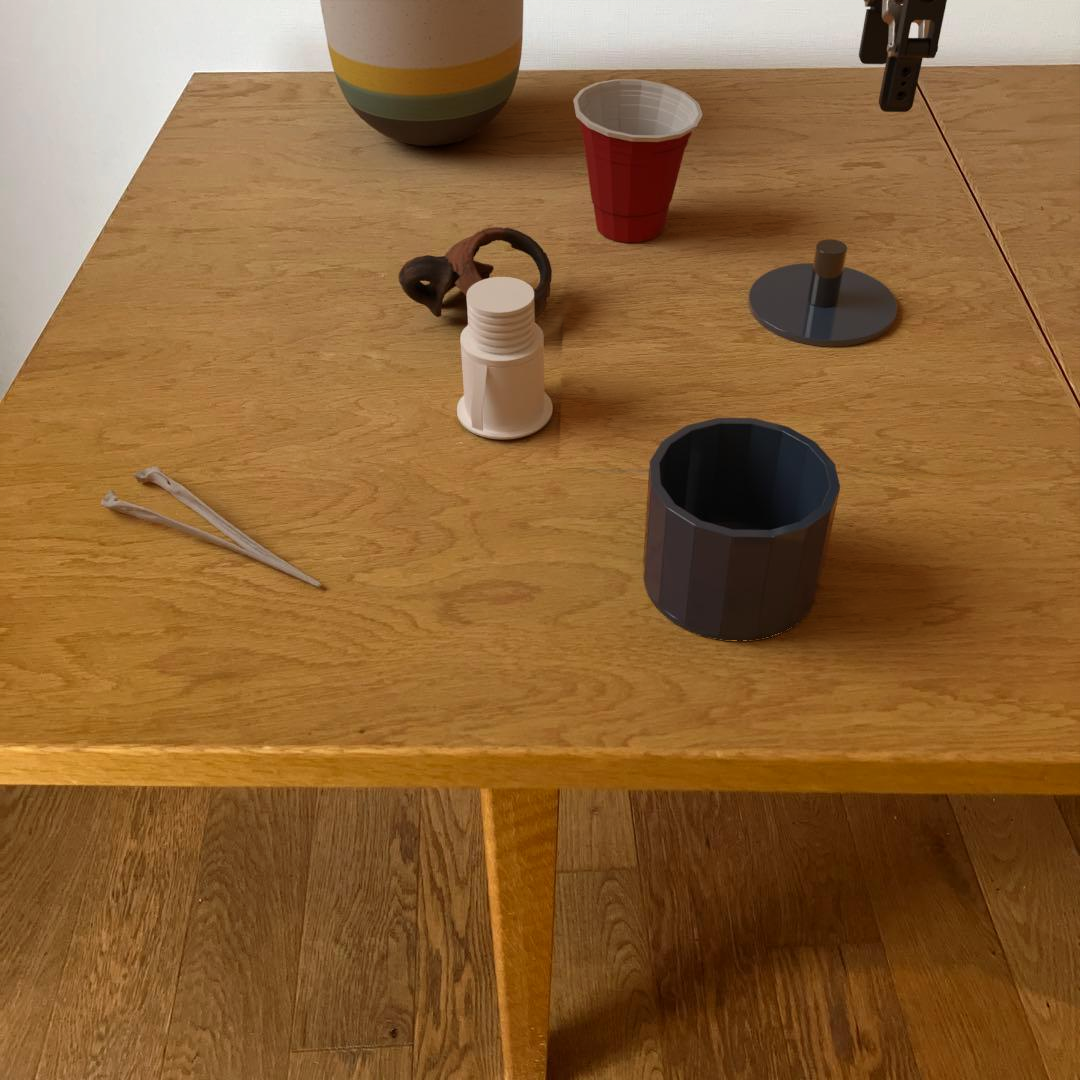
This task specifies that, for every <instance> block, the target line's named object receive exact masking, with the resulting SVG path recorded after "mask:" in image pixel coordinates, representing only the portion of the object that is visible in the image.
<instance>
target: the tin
mask: <svg viewBox="0 0 1080 1080" xmlns="http://www.w3.org/2000/svg"><path fill="white" fill-rule="evenodd" d="M648 468H649V469H648V481H647V497H646V512H645V513H646V514H645V526H644V530H645V531H644V541H643V542H644V543H643V555H642V556H643V557H642V560H643V561H642V565H643V575H642V577H643V583H644V587H645V591H646V593H647V595H648V597H649V599H650V601H651V602H652V603H653V605H654V607H656V609H657V610H658V611H659V612H660V613H661V614H662V615H663V616H664V617H665V618H666V619H668V620H669V621H671V622H672V623H673V622H674V624H675V625H676V626H678V625H679V626H678V627H680V628H682V627H683V628H682V629H684V628H685V629H684V630H685V631H688V630H689V631H688V632H690V633H692V632H694V633H693V634H695V633H696V634H695V635H698V634H700V635H702V636H701V637H704V636H705V637H704V638H707V637H711V638H716V639H722V640H737V641H743V640H747V641H746V642H750V641H749V640H756V639H762V638H766V637H770V638H772V637H771V636H772V635H773V637H775V636H774V635H775V634H778V633H781V632H784V631H785V632H787V631H788V630H787V629H789V628H791V627H793V626H794V627H796V625H795V624H797V623H798V624H800V622H802V621H803V620H804V619H805V618H806V617H807V615H809V613H810V612H811V610H812V608H813V606H814V605H815V602H816V599H817V595H818V592H819V590H820V589H819V588H820V586H821V582H822V577H823V573H824V567H825V562H826V559H827V553H828V549H829V544H830V539H831V534H832V529H833V524H834V521H835V520H834V519H835V514H836V510H837V505H838V501H839V500H838V499H839V497H840V496H839V495H840V491H841V485H840V479H839V476H838V472H837V467H836V463H835V462H834V461H833V460H832V459H831V457H830V456H829V455H828V454H827V453H826V452H825V450H823V448H822V447H821V446H820V445H819V443H817V442H816V441H815V440H813V439H811V438H810V437H807V436H806V435H804V434H802V433H800V432H798V431H796V429H793V428H791V427H789V426H787V425H783V424H779V423H775V422H770V421H766V420H763V419H759V418H754V417H716V418H711V419H706V420H703V421H699V422H694V423H691V424H687V425H685V426H683V427H682V428H680V429H678V430H677V431H675V432H674V433H672V434H670V435H669V436H668V437H667V436H666V438H664V439H662V441H661V442H660V443H659V445H658V447H657V449H656V451H655V452H654V454H653V455H652V457H651V458H650V460H649V465H648ZM804 617H805V618H804ZM803 618H804V619H803ZM802 619H803V620H802ZM798 624H797V625H798ZM794 627H793V628H794ZM791 629H792V628H791ZM786 630H787V631H786ZM789 630H790V629H789ZM785 632H784V633H785ZM700 635H699V636H700ZM711 638H710V639H711ZM716 639H715V640H716ZM766 639H767V638H766ZM722 640H721V641H722ZM762 640H763V639H762ZM756 641H757V640H756Z"/></svg>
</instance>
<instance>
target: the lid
mask: <svg viewBox="0 0 1080 1080" xmlns="http://www.w3.org/2000/svg"><path fill="white" fill-rule="evenodd" d="M847 253H848V246H847V244H846V243H845V242H844V241H841V240H839V239H834V238H827V239H822V240H820V241H818V242H817V243H816V245H815V250H814V255H813V262H806V263H805V262H803V263H802V262H801V263H794V264H789V265H788V264H787V265H783V266H780V267H777V268H774V269H772V270H769V271H767V272H765V273H764V274H762V275H761V276H759V277H758V278H757V279H755V281H754V282H753V284H752V285H751V287H750V289H749V293H748V299H747V301H748V307H749V311H750V313H751V314H752V316H753V317H754V319H755V320H756V321H757V322H758V323H759V324H760V325H761V326H762V327H764V328H765V329H767V330H768V331H769V332H771V333H772V334H774V335H777V336H779V337H782V338H784V339H786V340H790V341H793V342H797V343H799V344H804V345H809V346H810V345H811V346H816V347H830V348H836V347H848V346H849V347H850V346H856V345H862V344H864V343H865V344H866V343H868V342H872V341H874V340H876V339H878V338H880V337H881V336H883V335H885V334H886V333H887V332H888V331H889V330H890V329H891V328H893V325H894V323H895V322H896V318H897V315H898V302H897V299H896V297H895V295H894V294H893V293H892V291H891V290H890V289H889V288H888V287H887V285H885V284H884V283H883V282H881V281H880V280H878V279H876V278H875V277H873V276H871V275H869V274H867V273H864V272H862V271H859V270H857V269H854V268H850V267H846V266H845V265H846V258H847Z"/></svg>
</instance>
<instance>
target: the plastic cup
mask: <svg viewBox="0 0 1080 1080" xmlns="http://www.w3.org/2000/svg"><path fill="white" fill-rule="evenodd" d="M572 101H573V107H574V112H575V118H577V119H578V122H579V127H580V132H581V138H582V142H583V146H584V151H585V152H584V154H585V160H586V167H587V175H588V176H587V177H588V183H589V190H590V197H591V202H592V204H593V212H594V218H595V226H596V229H597V231H598V233H599V234H600V235H601V236H603V237H604V238H605V239H608V240H610V241H612V242H615V243H622V244H642V243H645V242H649V241H653V240H654V239H655V238H657V237H658V236H660V235H661V234H662V232H663V230H664V229H665V225H666V221H667V216H668V212H669V208H670V204H671V202H672V200H673V196H674V192H675V189H676V186H677V182H678V177H679V173H680V170H681V165H682V162H683V159H684V155H685V154H684V153H685V150H686V148H687V146H688V144H689V140H690V137H692V133H693V132H694V131H695V130H696V129H697V127H698V125H699V123H700V121H701V120H702V117H703V115H704V114H703V111H702V109H701V105H700V103H699V102H698V101H697V100H695V98H693V97H692V96H690V95H689V94H688V93H687V92H685V91H683V90H680V89H678V88H676V87H674V86H671V85H668V84H666V83H661V82H656V81H650V80H646V79H636V78H635V79H632V78H631V79H630V78H615V79H610V80H609V79H608V80H603V81H597V82H595V83H592V84H590V85H588V86H586V87H584V88H582V89H580V90H579V91H578V93H577V94H576V95H575V97H573V99H572Z"/></svg>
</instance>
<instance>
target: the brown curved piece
mask: <svg viewBox="0 0 1080 1080" xmlns="http://www.w3.org/2000/svg"><path fill="white" fill-rule="evenodd" d="M495 241H496V242H497V241H499V242H500V241H502V242H506V243H509V244H510V245H511V246H510V248H512V249H514V250H517V251H519V252H523V253H525V254H526V255H527V256H529V257H531V259H532V260H533V262H534V263H535V265H536V267H537V270H538V271H539V283H538V285H537V286H536V288H535V289H533V290H534V310H535V313H534V315H535V321H537V320H538V319H539V317H541V315H542V314H543V313H544V311H545V310H546V308H547V307H548V305H549V304H548V298H550V297H551V282H552V280H553V278H552V277H553V275H552V274H553V271H552V266H551V262H550V259H549V258H548V255H547V253H546V252H545V251H544V249H543V248H542V247H541V245H539V243H538V242H537V241H536V240H535V239H533V238H532V237H531V236H529V235H528V234H526V233H523V232H522V231H519V230H517V229H514V228H510V227H498V226H495V227H494V226H493V227H487V228H483V229H482V230H481V231H477V232H475V233H474V234H473V235H471V236H468V237H466V238H464V239H462V240H460V241H458V242H457V243H455V244H453V246H451V247H450V249H449V250H448V251H447V252H446V253H445V255H442V256H436V255H429V254H427V255H422V256H416V257H414V258H412V259H410V260H407V261H406V262H405V264H403V266H402V267H401V269H400V272H399V273H398V282H399V284H400V286H401V289H402V291H403V292H404V294H405V295H406V296H407V297H409V298H410V299H412V301H414V302H416V303H418V304H420V305H423V306H425V307H427V309H428V310H429V311H430V312H431V314H432V315H433V316H435V317H436V318H439V317H441V316H442V307H443V301H444V298H445V296H446V294H447V293H449V292H450V291H451V290H452V289H454V288H455V287H456V288H458V289H459V290H460V292H462V293H463V295H464V296H465V297H466V298H467V291H468V289H469V288H470V287H471V286H472V285H473V284H475V283H477V282H479V281H481V280H484V279H487V278H490V276H491V274H492V273H493V271H494V269H495V267H494V266H493V265H492V264H489V263H484V262H480V261H477V260H475V257H476V255H477V254H478V252H479V251H480V248H481V247H486V246H487V245H490V244H491V243H493V242H495ZM423 282H428V283H426V284H425V283H423Z"/></svg>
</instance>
